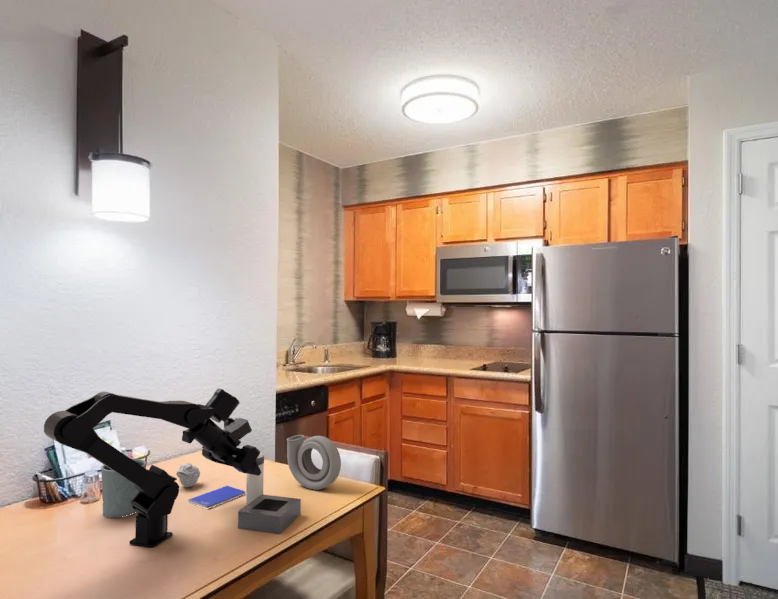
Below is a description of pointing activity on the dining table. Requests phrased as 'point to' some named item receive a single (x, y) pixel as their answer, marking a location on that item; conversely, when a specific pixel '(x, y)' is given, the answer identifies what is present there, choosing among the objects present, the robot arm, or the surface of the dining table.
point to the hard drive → (216, 496)
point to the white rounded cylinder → (255, 482)
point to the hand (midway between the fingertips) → (249, 470)
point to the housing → (269, 513)
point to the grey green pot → (117, 492)
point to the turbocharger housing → (304, 466)
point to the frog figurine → (188, 475)
